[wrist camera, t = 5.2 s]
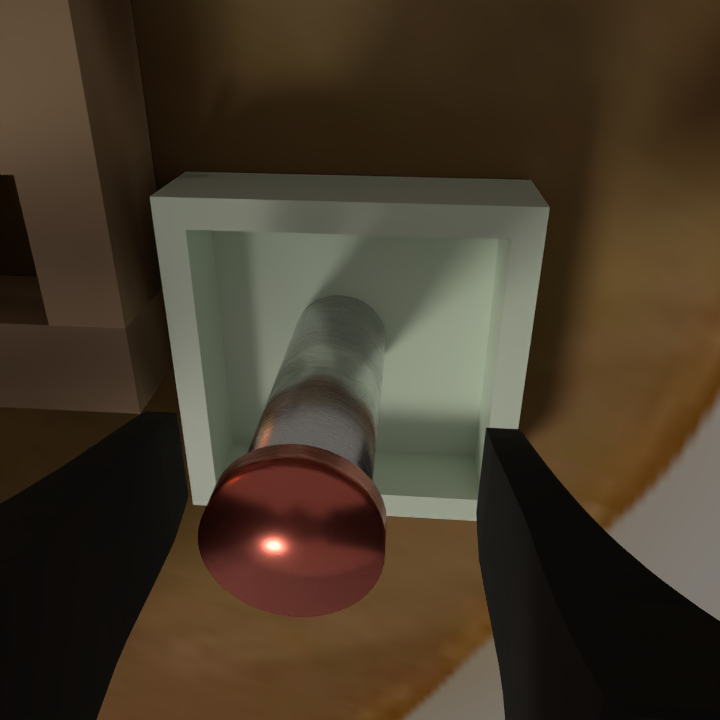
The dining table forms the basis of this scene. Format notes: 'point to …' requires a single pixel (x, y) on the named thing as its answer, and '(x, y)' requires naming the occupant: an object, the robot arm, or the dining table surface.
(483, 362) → the tray
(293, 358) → the lock pin
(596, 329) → the dining table surface
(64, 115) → the block
